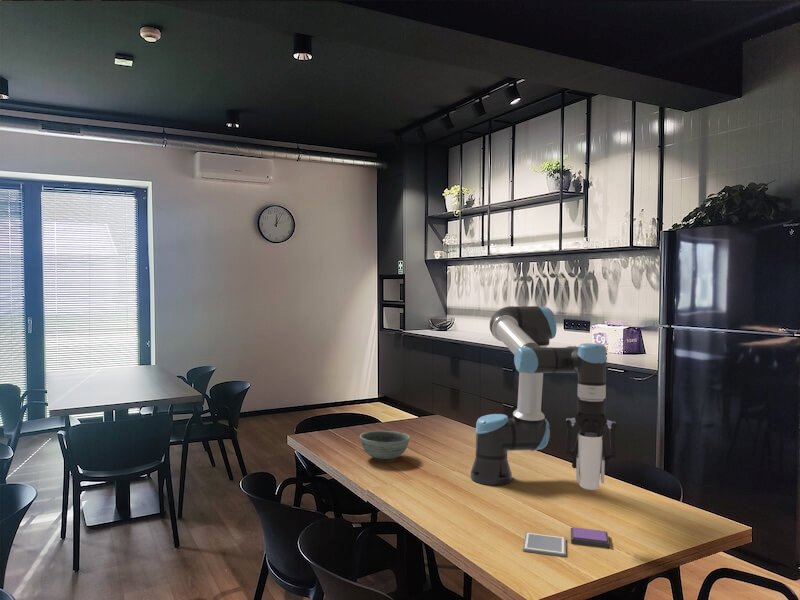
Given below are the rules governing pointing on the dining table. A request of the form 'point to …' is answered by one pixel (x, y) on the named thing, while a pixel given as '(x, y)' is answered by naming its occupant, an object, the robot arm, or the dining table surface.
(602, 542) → the ink pad
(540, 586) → the dining table surface
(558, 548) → the plate
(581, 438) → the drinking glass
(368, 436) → the bowl
